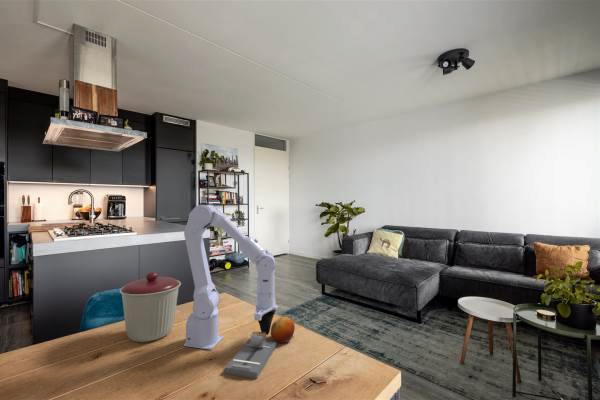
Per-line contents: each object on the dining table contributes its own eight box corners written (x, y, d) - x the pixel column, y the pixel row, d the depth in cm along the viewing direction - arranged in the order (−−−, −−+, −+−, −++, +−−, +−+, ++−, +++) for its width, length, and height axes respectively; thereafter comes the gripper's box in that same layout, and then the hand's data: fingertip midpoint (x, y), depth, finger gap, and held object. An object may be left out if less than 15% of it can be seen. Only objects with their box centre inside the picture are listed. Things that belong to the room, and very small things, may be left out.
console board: (224, 373, 70) (224, 364, 70) (249, 342, 86) (249, 335, 86) (257, 378, 68) (257, 369, 68) (276, 346, 84) (276, 339, 84)
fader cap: (250, 346, 80) (250, 334, 81) (253, 342, 83) (253, 330, 83) (263, 348, 80) (263, 335, 80) (265, 344, 82) (265, 331, 82)
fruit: (297, 342, 84) (284, 319, 85) (276, 353, 85) (264, 330, 86) (302, 330, 92) (290, 309, 93) (283, 340, 93) (271, 319, 94)
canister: (190, 325, 98) (191, 267, 99) (155, 351, 80) (157, 281, 81) (146, 321, 101) (147, 265, 102) (103, 345, 84) (105, 277, 84)
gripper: (270, 300, 80) (269, 346, 79) (283, 286, 94) (283, 325, 93) (247, 298, 81) (247, 343, 81) (264, 284, 95) (264, 323, 95)
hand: (265, 333), depth 87 cm, fingers closed
